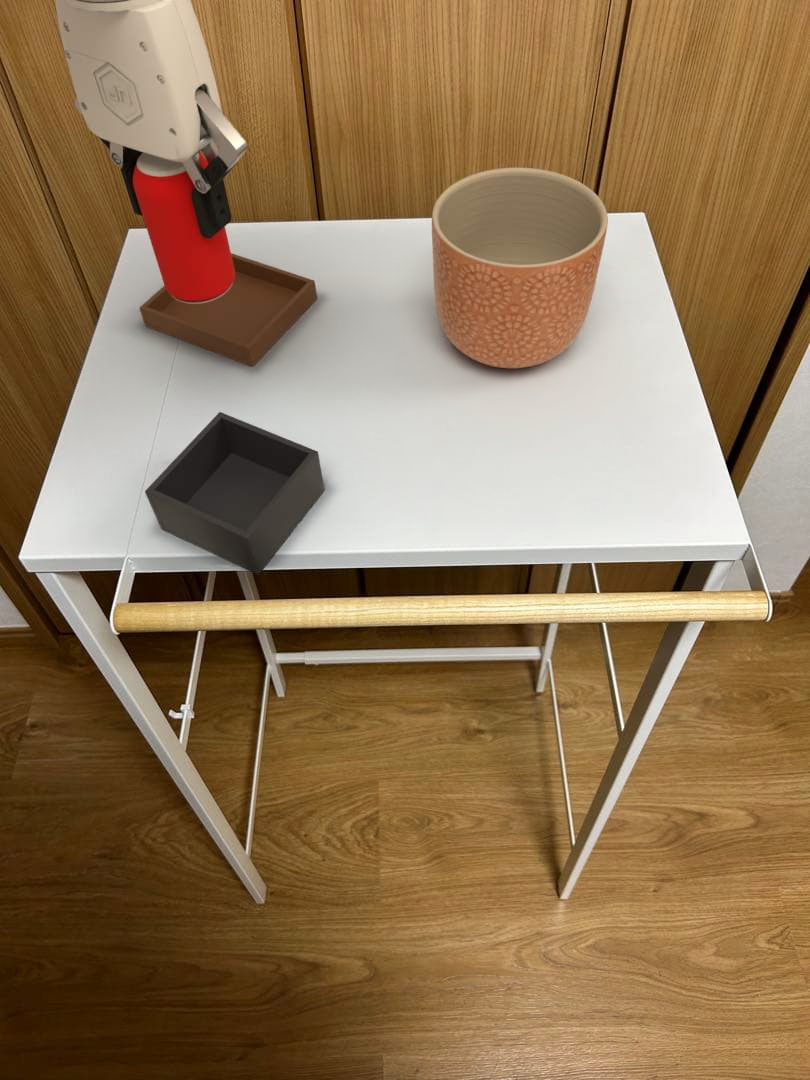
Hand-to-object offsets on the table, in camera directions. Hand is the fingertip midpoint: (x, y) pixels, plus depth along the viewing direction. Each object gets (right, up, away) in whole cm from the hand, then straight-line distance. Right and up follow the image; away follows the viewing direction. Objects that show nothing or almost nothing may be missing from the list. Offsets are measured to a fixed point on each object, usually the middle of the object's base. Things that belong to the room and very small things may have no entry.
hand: (183, 216), depth 67 cm
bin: (+3, -23, +12) cm, 26 cm away
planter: (+30, -4, +26) cm, 39 cm away
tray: (-2, 0, +30) cm, 30 cm away
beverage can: (0, -4, +6) cm, 7 cm away
